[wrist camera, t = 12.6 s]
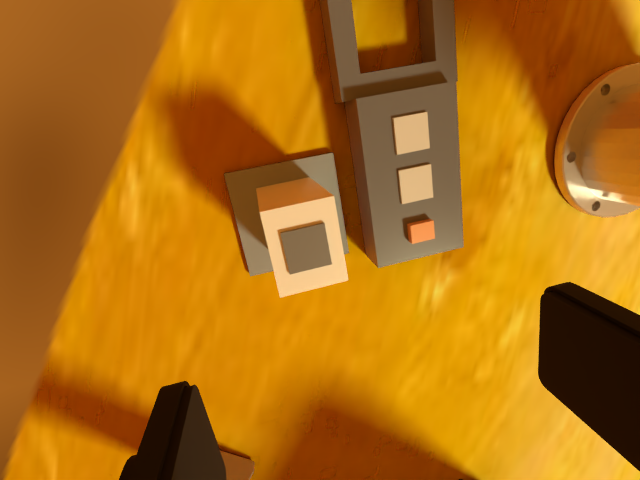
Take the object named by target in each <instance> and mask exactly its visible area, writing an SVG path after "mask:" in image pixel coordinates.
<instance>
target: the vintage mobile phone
mask: <svg viewBox="0 0 640 480" xmlns="http://www.w3.org/2000/svg"><path fill="white" fill-rule="evenodd" d="M220 452H221V455H222V458H223V461H224V464H225V468H226V478H227V480H250V478H251V476H252V474H253V472H254V462H253V461H252V460H250V459H246V458H243V457H240V456H237V455H233V454H230V453H227V452H224V451H221V450H220Z"/></svg>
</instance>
